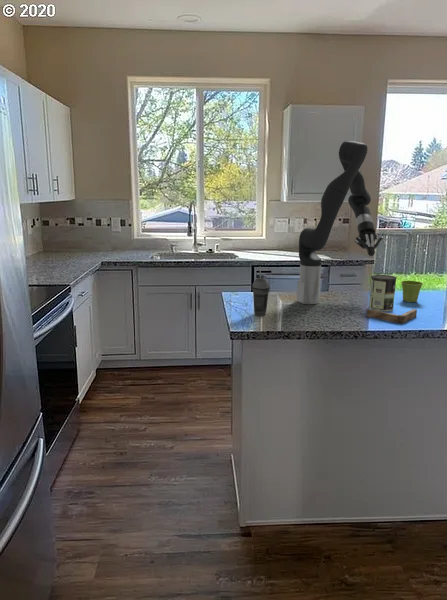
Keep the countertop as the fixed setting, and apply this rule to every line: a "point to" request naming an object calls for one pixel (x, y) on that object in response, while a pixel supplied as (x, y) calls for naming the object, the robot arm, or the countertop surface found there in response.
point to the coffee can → (382, 292)
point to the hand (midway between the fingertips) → (371, 255)
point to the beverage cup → (260, 295)
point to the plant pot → (411, 290)
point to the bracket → (392, 315)
